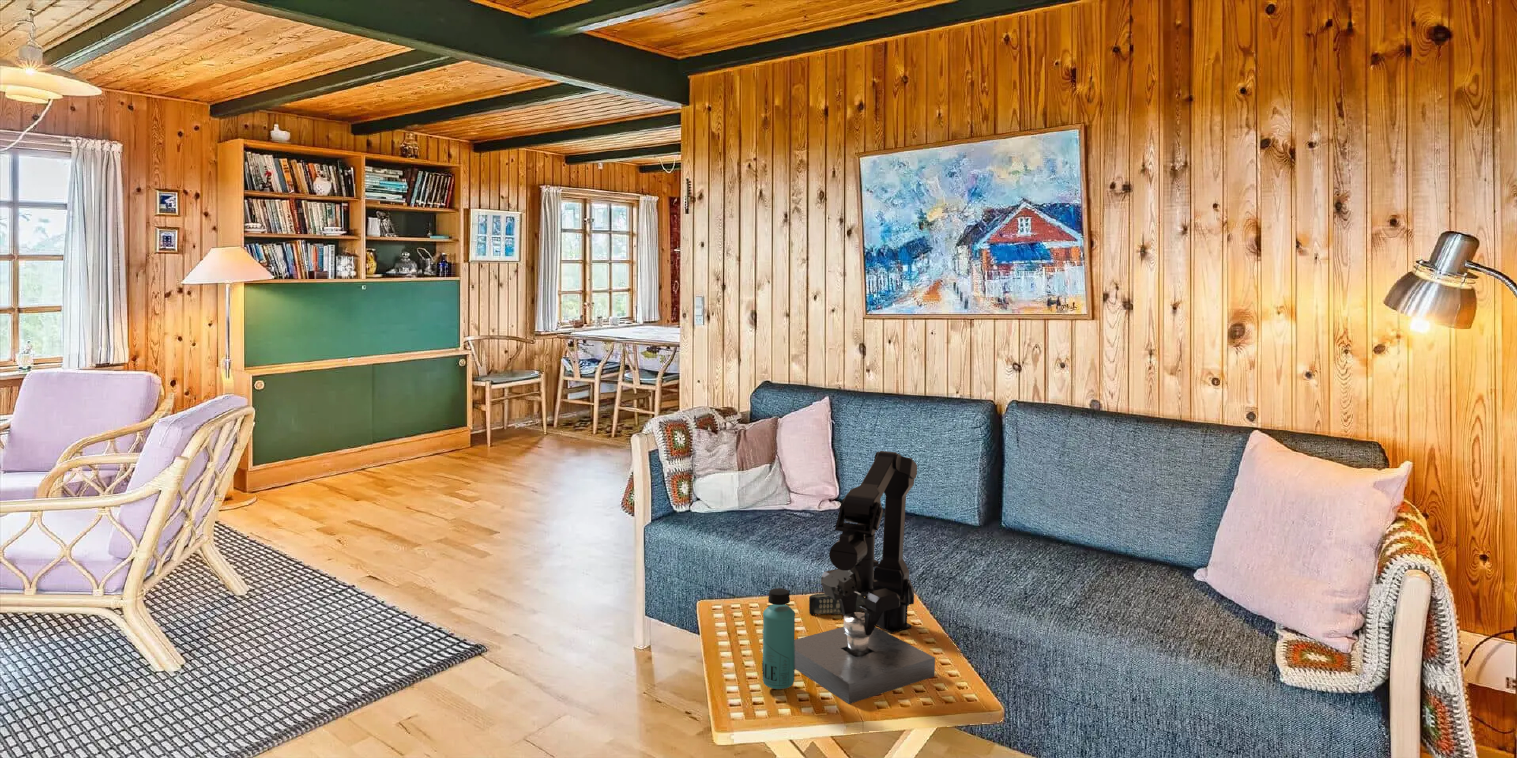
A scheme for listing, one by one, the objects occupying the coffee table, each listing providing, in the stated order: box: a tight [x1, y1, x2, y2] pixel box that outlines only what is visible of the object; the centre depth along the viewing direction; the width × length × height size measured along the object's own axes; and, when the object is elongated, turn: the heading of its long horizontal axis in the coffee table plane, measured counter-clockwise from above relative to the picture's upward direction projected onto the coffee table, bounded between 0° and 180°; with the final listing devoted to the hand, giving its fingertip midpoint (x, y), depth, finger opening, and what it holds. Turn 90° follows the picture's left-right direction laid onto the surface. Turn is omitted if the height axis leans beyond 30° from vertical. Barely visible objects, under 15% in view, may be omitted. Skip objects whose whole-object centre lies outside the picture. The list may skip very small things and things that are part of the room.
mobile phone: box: [808, 593, 865, 616], centre depth 210 cm, size 5×3×15 cm
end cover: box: [843, 612, 873, 656], centre depth 180 cm, size 6×6×7 cm
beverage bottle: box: [761, 587, 796, 690], centre depth 170 cm, size 6×7×20 cm
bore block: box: [794, 626, 936, 705], centre depth 180 cm, size 22×22×4 cm
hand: (858, 629), depth 179 cm, fingers closed on end cover, 6 cm apart
